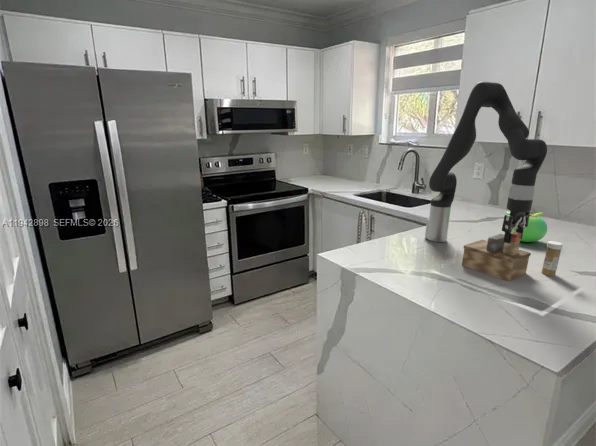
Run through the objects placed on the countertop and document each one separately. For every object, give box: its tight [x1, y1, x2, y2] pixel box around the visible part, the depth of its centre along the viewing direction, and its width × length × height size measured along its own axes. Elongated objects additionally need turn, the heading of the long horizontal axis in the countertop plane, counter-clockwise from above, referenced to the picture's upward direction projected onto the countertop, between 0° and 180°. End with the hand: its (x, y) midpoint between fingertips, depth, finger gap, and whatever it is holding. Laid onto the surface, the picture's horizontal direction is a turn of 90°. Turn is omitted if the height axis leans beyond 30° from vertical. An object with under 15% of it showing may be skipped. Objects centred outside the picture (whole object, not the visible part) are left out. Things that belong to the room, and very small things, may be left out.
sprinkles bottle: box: [541, 240, 563, 277], centre depth 131 cm, size 5×5×14 cm
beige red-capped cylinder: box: [503, 231, 522, 256], centre depth 130 cm, size 4×4×16 cm
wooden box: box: [461, 248, 530, 282], centre depth 136 cm, size 18×13×8 cm
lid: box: [463, 233, 532, 263], centre depth 134 cm, size 18×13×6 cm
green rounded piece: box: [505, 211, 548, 243], centre depth 172 cm, size 18×17×15 cm
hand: (512, 240), depth 129 cm, fingers open, 8 cm apart
